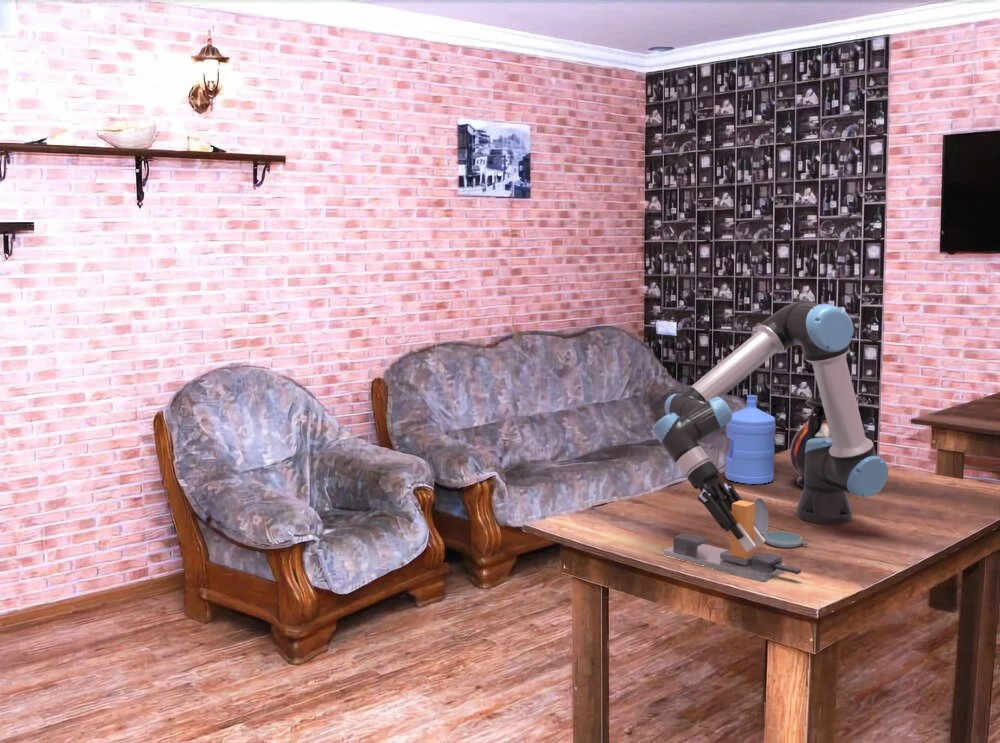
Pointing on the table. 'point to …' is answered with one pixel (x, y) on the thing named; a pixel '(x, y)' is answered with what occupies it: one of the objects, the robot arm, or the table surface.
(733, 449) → the water jug
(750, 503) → the handle
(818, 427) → the amphora vase
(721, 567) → the base
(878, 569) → the table surface
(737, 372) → the robot arm
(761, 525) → the pocket watch
